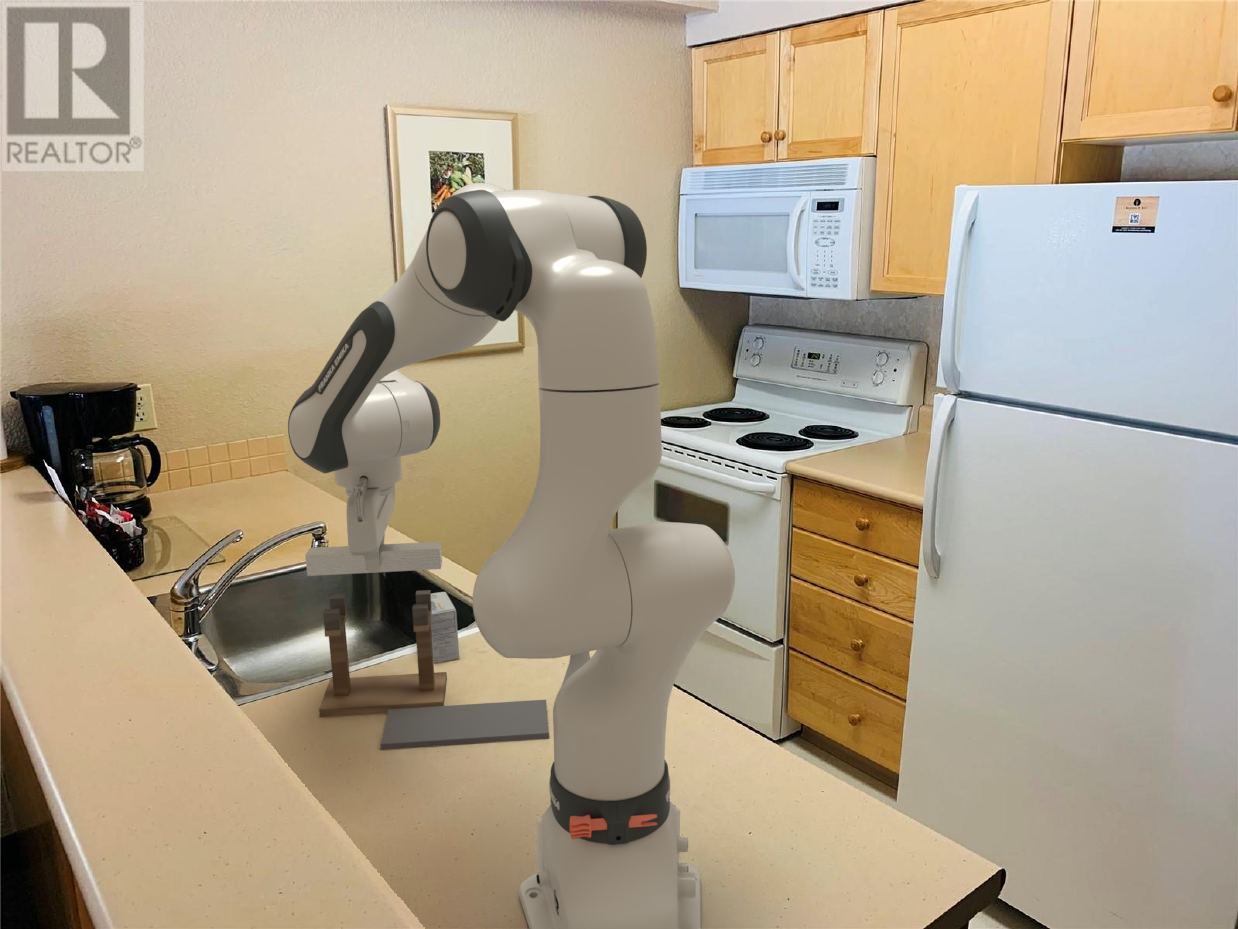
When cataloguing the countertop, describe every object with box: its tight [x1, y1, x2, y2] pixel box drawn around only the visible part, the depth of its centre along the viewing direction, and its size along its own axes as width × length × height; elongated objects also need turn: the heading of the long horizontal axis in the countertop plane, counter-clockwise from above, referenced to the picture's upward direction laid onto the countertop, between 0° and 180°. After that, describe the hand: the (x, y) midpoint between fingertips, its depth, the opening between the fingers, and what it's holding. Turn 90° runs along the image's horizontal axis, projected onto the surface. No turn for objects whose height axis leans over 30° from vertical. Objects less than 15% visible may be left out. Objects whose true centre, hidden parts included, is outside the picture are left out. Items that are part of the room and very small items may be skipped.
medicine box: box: [431, 591, 460, 664], centre depth 151 cm, size 8×4×9 cm, turn 22°
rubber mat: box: [380, 699, 550, 750], centre depth 131 cm, size 9×22×1 cm, turn 97°
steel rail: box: [304, 541, 443, 577], centre depth 133 cm, size 3×18×3 cm, turn 97°
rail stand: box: [318, 589, 448, 718], centre depth 136 cm, size 9×17×15 cm, turn 97°
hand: (375, 564), depth 133 cm, fingers closed on steel rail, 3 cm apart
